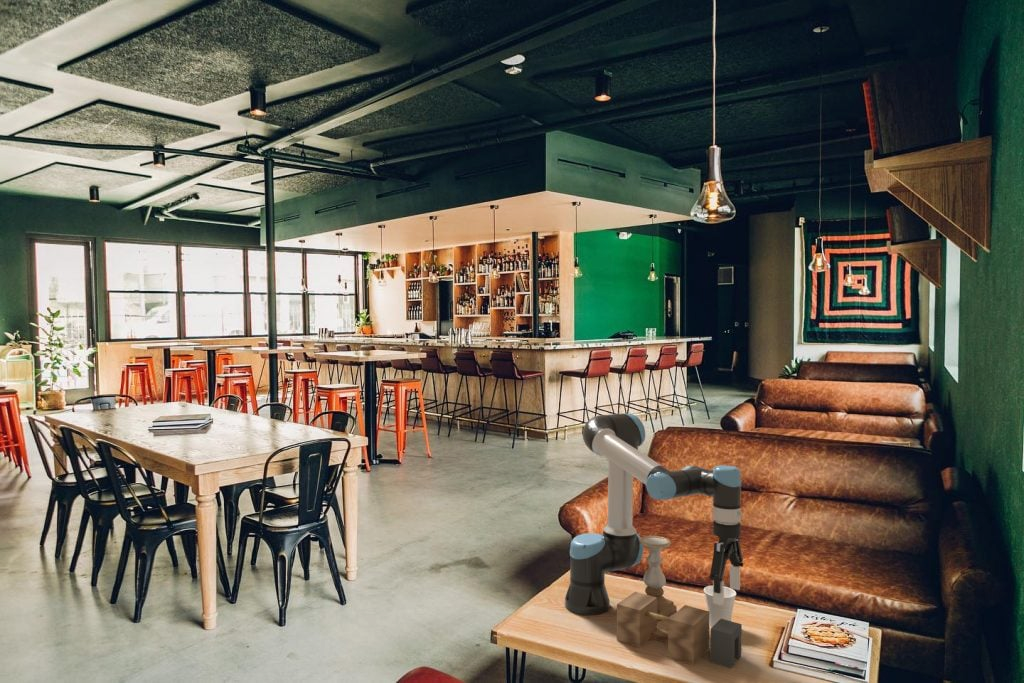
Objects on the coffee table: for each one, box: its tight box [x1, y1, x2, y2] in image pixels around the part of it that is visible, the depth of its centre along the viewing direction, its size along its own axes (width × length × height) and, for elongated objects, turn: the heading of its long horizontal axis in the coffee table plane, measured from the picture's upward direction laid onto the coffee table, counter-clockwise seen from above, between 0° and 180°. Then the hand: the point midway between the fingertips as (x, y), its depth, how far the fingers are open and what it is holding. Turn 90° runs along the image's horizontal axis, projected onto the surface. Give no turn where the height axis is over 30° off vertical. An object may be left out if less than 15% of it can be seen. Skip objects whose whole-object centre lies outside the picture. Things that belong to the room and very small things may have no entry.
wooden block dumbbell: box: [616, 591, 710, 666], centre depth 191 cm, size 24×12×11 cm, turn 52°
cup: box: [703, 585, 737, 628], centre depth 204 cm, size 10×10×11 cm
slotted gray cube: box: [709, 619, 743, 669], centre depth 183 cm, size 6×8×9 cm
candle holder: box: [639, 535, 678, 622], centre depth 215 cm, size 11×11×24 cm
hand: (726, 596), depth 183 cm, fingers open, 13 cm apart
